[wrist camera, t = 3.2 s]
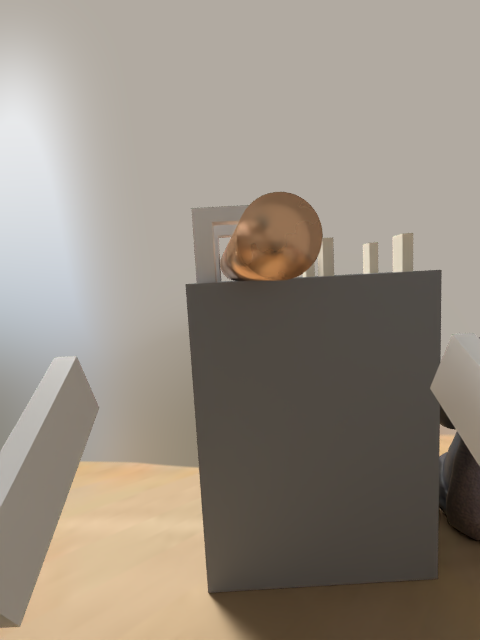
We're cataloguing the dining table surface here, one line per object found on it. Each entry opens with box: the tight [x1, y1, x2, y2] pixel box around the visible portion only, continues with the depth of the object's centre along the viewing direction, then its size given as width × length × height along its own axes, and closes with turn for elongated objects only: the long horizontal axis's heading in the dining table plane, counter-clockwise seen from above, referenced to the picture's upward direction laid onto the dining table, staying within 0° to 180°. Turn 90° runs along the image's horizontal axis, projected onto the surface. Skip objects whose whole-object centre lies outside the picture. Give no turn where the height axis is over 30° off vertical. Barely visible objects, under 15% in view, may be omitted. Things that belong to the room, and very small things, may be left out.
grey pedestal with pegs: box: [186, 205, 441, 593], centre depth 38 cm, size 21×16×34 cm
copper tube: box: [220, 192, 323, 281], centre depth 29 cm, size 26×4×4 cm
